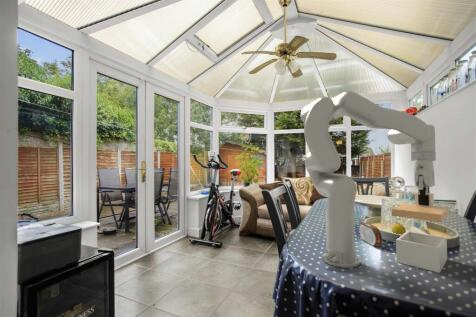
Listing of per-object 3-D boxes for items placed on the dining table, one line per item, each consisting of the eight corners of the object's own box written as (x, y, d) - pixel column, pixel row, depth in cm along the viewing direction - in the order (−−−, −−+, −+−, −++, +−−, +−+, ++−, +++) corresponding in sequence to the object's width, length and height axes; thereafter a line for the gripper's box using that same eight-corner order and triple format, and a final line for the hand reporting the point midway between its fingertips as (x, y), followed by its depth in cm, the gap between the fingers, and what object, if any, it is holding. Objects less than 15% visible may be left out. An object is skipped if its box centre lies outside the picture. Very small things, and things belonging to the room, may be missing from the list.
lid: (441, 222, 76) (440, 198, 76) (391, 215, 86) (391, 194, 86) (449, 214, 88) (448, 194, 88) (404, 209, 98) (404, 191, 98)
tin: (383, 249, 98) (382, 228, 99) (375, 249, 98) (375, 228, 99) (364, 238, 113) (364, 220, 114) (357, 238, 114) (357, 220, 114)
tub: (439, 272, 77) (439, 247, 77) (396, 261, 86) (395, 239, 86) (447, 259, 87) (446, 237, 88) (407, 250, 96) (407, 231, 97)
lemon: (404, 239, 110) (403, 222, 111) (408, 243, 105) (407, 225, 105) (390, 238, 112) (390, 221, 113) (393, 242, 107) (393, 224, 107)
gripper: (431, 156, 84) (433, 208, 83) (439, 157, 94) (440, 203, 94) (406, 157, 89) (407, 206, 89) (416, 157, 100) (417, 201, 99)
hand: (424, 204), depth 91 cm, fingers closed
